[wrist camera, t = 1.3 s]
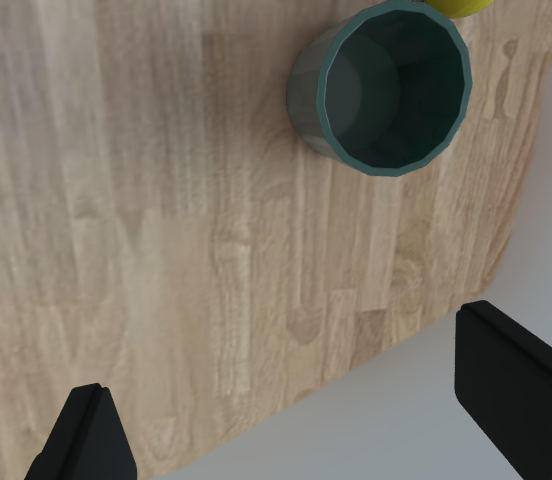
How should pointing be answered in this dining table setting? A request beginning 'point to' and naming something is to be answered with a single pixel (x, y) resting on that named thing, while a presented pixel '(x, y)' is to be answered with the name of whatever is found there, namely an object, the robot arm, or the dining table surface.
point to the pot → (382, 88)
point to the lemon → (458, 7)
